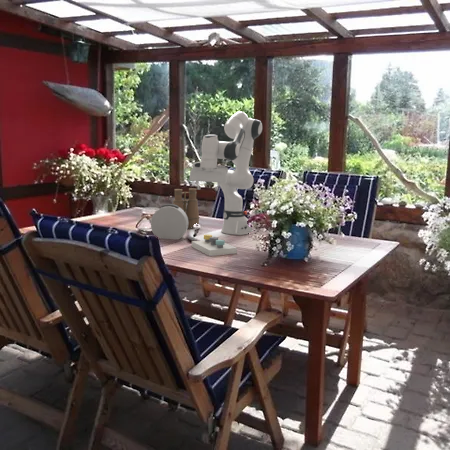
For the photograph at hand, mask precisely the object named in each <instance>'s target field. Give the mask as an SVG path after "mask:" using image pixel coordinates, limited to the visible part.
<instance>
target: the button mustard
mask: <svg viewBox="0 0 450 450" xmlns="http://www.w3.org/2000/svg"><path fill="white" fill-rule="evenodd" d="M210 237H213V235H212V234H207V233H206V234H203V240H205V242H210V241H209V240H210Z"/></svg>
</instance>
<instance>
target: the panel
mask: <svg viewBox="0 0 450 450" xmlns="http://www.w3.org/2000/svg"><path fill="white" fill-rule="evenodd" d="M191 247H192V248H194V249H196V250H198V251H199V252H201V253H202V254H204V255H207V256H209V257H213V256H215V257H216V256H223V255H231V254H237V252H238V251H237V250H238V249H237V248H238V247H236V246H234V245H231V244H229V243H226V242H225V244H224V245H223V248H217V245H211V242H205V239H203V240H202V239H201V240H194V241H193V240H191Z"/></svg>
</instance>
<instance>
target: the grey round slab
mask: <svg viewBox="0 0 450 450" xmlns="http://www.w3.org/2000/svg"><path fill="white" fill-rule="evenodd" d="M188 224H189V222H188V217H187V215H186V211H185V212H184V211H183V210H182V209H181V208H180V207H179V206H177V205H174V204H173V203H166V204H162V205H161V207H160V208H158V209H157V210H156V211H155V212H154V213H153V214H152V216H151V219H150V229H151V231H152V234H153V235H154V236H155V235H156V236H158V237H159V238H158V239H166V240H167V239H168V240H170V239H171V240H181V239H182V237H184V236H185V234H186V233H187V231H188V230H189V228H188ZM156 236H155V237H156Z"/></svg>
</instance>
